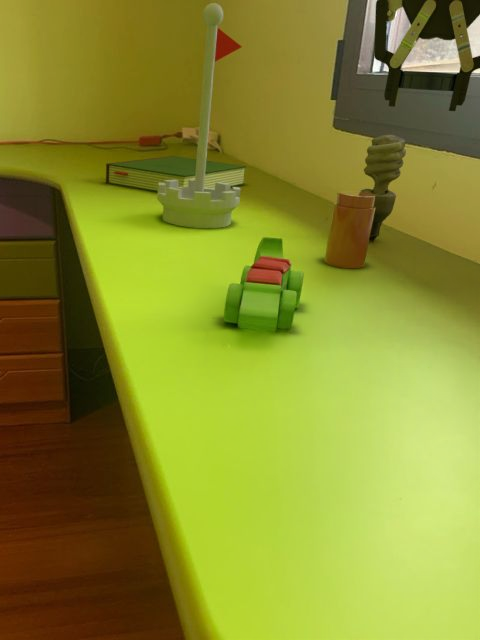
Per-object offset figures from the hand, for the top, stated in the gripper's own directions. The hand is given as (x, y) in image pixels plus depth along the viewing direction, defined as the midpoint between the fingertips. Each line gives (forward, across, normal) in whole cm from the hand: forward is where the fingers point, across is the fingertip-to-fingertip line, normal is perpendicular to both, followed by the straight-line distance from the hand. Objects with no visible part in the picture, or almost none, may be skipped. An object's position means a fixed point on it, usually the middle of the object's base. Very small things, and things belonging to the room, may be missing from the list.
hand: (422, 107), depth 77 cm
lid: (-3, 0, 0) cm, 3 cm away
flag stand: (+19, -32, +19) cm, 42 cm away
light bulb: (+20, -4, +22) cm, 29 cm away
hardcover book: (+19, -47, +53) cm, 73 cm away
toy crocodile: (+20, -10, -22) cm, 31 cm away
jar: (+19, -6, +5) cm, 21 cm away
